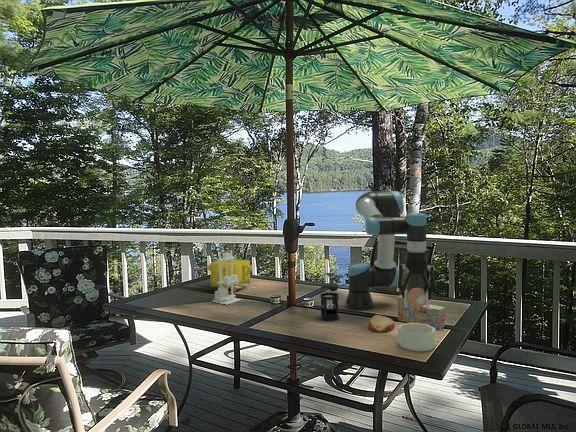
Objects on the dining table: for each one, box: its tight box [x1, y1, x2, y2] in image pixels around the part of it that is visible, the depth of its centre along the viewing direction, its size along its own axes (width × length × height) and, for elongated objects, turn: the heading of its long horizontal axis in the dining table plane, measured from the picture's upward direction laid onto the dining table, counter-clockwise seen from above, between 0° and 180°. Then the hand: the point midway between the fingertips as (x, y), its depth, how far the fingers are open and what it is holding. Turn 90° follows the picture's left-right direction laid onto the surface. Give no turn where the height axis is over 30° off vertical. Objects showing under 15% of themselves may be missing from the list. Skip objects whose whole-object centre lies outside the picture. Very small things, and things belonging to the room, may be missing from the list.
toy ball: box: [407, 287, 426, 308], centre depth 172 cm, size 8×8×8 cm
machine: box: [211, 249, 256, 306], centre depth 242 cm, size 29×12×30 cm, turn 55°
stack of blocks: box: [397, 294, 446, 330], centre depth 201 cm, size 21×6×12 cm, turn 46°
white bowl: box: [397, 322, 436, 353], centre depth 173 cm, size 14×14×7 cm
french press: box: [320, 272, 340, 322], centre depth 211 cm, size 12×9×23 cm
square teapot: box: [206, 258, 253, 290], centre depth 282 cm, size 35×30×21 cm
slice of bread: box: [368, 314, 396, 334], centre depth 199 cm, size 18×18×4 cm
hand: (416, 306), depth 172 cm, fingers closed on toy ball, 8 cm apart
